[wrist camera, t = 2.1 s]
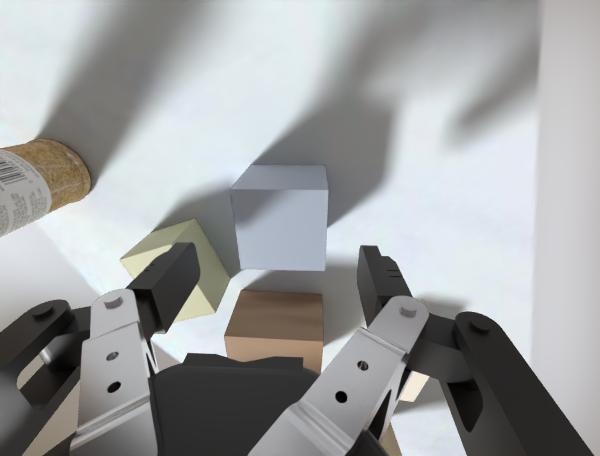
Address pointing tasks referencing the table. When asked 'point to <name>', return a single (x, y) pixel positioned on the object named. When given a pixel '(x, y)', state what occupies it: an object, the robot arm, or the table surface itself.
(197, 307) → the olive block
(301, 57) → the table surface
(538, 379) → the robot arm
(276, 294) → the walnut block
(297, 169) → the slate block
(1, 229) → the sprinkles bottle
